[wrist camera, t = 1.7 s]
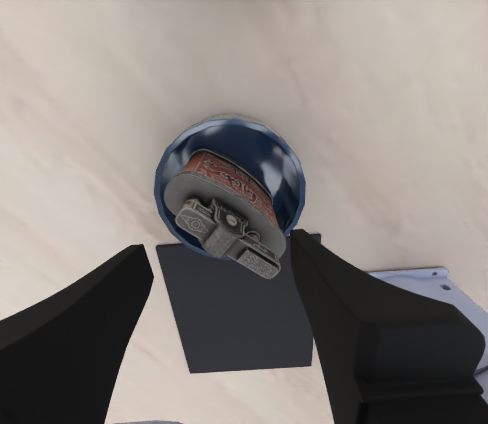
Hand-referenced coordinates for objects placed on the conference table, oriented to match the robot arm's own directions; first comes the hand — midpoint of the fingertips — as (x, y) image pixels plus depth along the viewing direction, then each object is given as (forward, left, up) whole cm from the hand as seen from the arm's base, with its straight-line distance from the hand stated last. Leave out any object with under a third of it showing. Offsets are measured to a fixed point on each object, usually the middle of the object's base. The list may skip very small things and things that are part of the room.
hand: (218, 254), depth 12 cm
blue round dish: (0, 0, -10) cm, 10 cm away
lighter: (0, 0, -10) cm, 10 cm away
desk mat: (0, +16, -10) cm, 19 cm away
